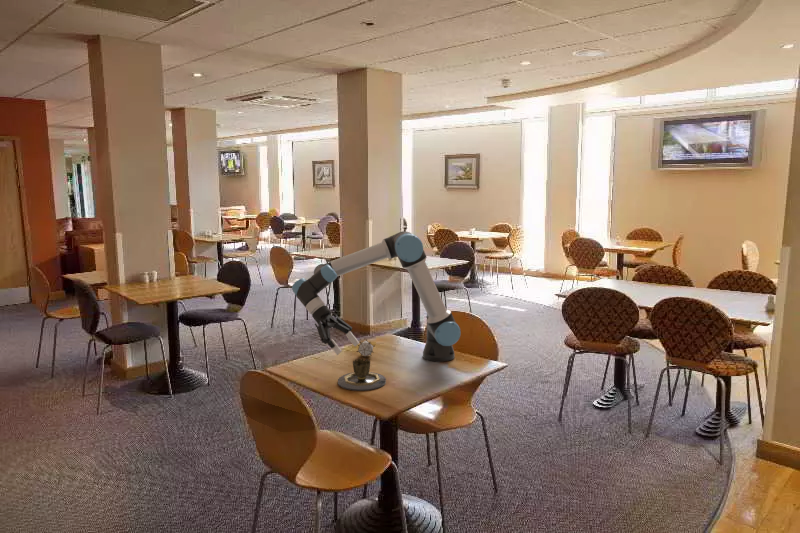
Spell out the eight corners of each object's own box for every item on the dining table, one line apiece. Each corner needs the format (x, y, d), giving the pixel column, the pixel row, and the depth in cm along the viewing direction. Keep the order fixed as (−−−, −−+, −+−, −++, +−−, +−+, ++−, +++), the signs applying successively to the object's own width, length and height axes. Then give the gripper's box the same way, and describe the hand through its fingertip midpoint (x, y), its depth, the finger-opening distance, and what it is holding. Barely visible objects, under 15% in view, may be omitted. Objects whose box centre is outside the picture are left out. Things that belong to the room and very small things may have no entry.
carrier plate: (381, 372, 257) (381, 368, 257) (389, 388, 238) (389, 384, 237) (335, 376, 253) (335, 371, 253) (340, 392, 234) (340, 387, 233)
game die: (364, 362, 283) (366, 343, 288) (377, 359, 278) (379, 340, 283) (352, 357, 277) (354, 337, 282) (364, 354, 272) (366, 334, 277)
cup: (349, 381, 243) (349, 362, 242) (357, 375, 250) (356, 357, 248) (366, 383, 240) (366, 364, 239) (373, 377, 247) (373, 359, 246)
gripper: (330, 309, 263) (358, 346, 258) (295, 321, 241) (326, 362, 236) (339, 299, 259) (369, 336, 255) (305, 310, 238) (337, 351, 233)
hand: (348, 348), depth 245 cm, fingers open, 13 cm apart
